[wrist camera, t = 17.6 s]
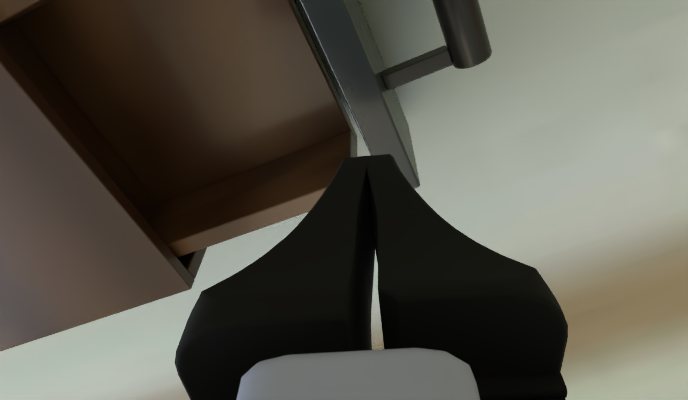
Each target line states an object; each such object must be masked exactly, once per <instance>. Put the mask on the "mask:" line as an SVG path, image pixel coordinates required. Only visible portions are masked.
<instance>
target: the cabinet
mask: <svg viewBox="0 0 688 400" xmlns="http://www.w3.org/2000/svg"><path fill="white" fill-rule="evenodd" d="M206 249H207V247H206V248H203V249H200V250H197V251H194V252H191V253H189V254H186V255H183V256H180V257H176V256H175V255H174V254H173V253H172V251H171V250H170V249H169V248H168V247H167V245H166V244H165V243H164V242H163V240H162V239H161V238H160V237H159V236H158V234H157V233H156V232H155V231H154V230H153V228H152V227H151V226H150V225H149V223H148V222H147V221H146V220H145V219H144V217H143V216H142V215H141V214H140V213H139V211H138V210H137V209H136V208H135V207H134V205H133V204H132V203H131V202H130V200H129V199H128V198H127V197H126V196H125V194H124V193H123V192H122V191H121V190H120V188H119V187H118V186H117V185H116V184H115V182H114V181H113V180H112V179H111V177H110V176H109V175H108V174H107V173H106V171H105V170H104V169H103V168H102V167H101V165H100V164H99V163H98V162H97V160H96V159H95V158H94V157H93V156H92V154H91V153H90V152H89V151H88V150H87V148H86V147H85V146H84V145H83V144H82V142H81V141H80V140H79V139H78V137H77V136H76V135H75V134H74V133H73V131H72V130H71V129H70V128H69V127H68V125H67V124H66V123H65V122H64V120H63V119H62V118H61V117H60V116H59V114H58V113H57V112H56V111H55V110H54V108H53V107H52V106H51V105H50V104H49V102H48V101H47V100H46V99H45V97H44V96H43V95H42V94H41V93H40V91H39V90H38V89H37V88H36V87H35V85H34V84H33V83H32V82H31V81H30V79H29V78H28V77H27V76H26V74H25V73H24V72H23V71H22V70H21V68H20V67H19V66H18V65H17V64H16V62H15V61H14V60H13V59H12V57H11V56H10V55H9V54H8V53H7V51H6V50H5V49H4V48H3V47H2V45H1V44H0V351H3V350H6V349H9V348H12V347H15V346H18V345H21V344H24V343H27V342H30V341H33V340H36V339H39V338H42V337H45V336H48V335H52V334H55V333H58V332H61V331H64V330H67V329H70V328H73V327H76V326H79V325H82V324H85V323H88V322H91V321H94V320H97V319H100V318H103V317H107V316H110V315H113V314H116V313H119V312H122V311H125V310H128V309H131V308H134V307H137V306H140V305H143V304H146V303H149V302H152V301H155V300H158V299H162V298H165V297H168V296H171V295H174V294H177V293H180V292H183V291H186V290H189V289H191V288H192V285H193V282H194V279H195V277H196V275H197V272H198V270H199V267H200V264H201V262H202V259H203V257H204V254H205V251H206Z"/></svg>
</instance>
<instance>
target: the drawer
mask: <svg viewBox="0 0 688 400" xmlns="http://www.w3.org/2000/svg"><path fill="white" fill-rule="evenodd" d="M432 1H433V4H434V7H435V11H436V14H437V17H438V20H439V23H440V26H441V29H442V33H443V36H444V39H445V42H446V45H447V46H446V45H444V46H442V47H439V48H437V49H435V50H432V51H430V52H427V53H425V54H422V55H420V56H418V57H415V58H413V59H410V60H408V61H405V62H403V63H400V64H398V65H396V66H393V67H391V68H388V69H386V68H385V65H384V63H383V60H382V58H381V55H380V53H379V50H378V48H377V45H376V43H375V40H374V38H373V35H372V33H371V30H370V28H369V25H368V23H367V20H366V18H365V15H364V13H363V10H362V8H361V5H360V3H359V0H300V2H301V5H302V7H303V9H304V11H305V13H306V15H307V18H308V20H309V22H310V24H311V26H312V28H313V31H314V33H315V35H316V37H317V39H318V41H319V43H320V46H321V48H322V50H323V52H324V54H325V56H326V59H327V61H328V63H329V65H330V67H331V69H332V72H333V74H334V76H335V78H336V80H337V82H338V85H339V87H340V89H341V91H342V93H343V95H344V97H345V100H346V102H347V104H348V106H349V108H350V110H351V113H352V115H353V117H354V119H355V121H356V123H357V126H358V128H359V130H360V132H361V134H362V136H363V139H364V141H365V143H366V145H367V147H368V149H369V151H370V154H371V156H372V155H383V154H391V155H392V156H393V157H394V159H395V161H396V163H397V165H398V167H399V168H400V170H401V172H402V173H403V175H404V176H405V178H406V179H407V180H408V182H409V183H410V184H411V186H412V187H413V188H417V187H419V186H420V182H419V177H418V172H417V167H416V162H415V157H414V151H413V146H412V141H411V136H410V131H409V126H408V123H407V120H406V118H405V115H404V113H403V110H402V108H401V105H400V103H399V100H398V98H397V95H396V93H395V90H394V88H396V87H398V86H401V85H403V84H406V83H408V82H411V81H413V80H416V79H418V78H421V77H423V76H426V75H428V74H431V73H433V72H436V71H438V70H441V69H443V68H446V67H448V66H451V65H453V66H454V67H455V68H458V69H465V68H470V67H473V66H476V65H478V64H480V63H482V62H484V61H486V60H487V59H488V58H489V57H490V56H491V53H492V50H491V46H490V43H489V39H488V35H487V32H486V28H485V24H484V21H483V17H482V13H481V9H480V6H479V2H478V0H432ZM0 44H1V45H2V47H3V48H4V49H5V50H6V51H7V53H8V54H9V55H10V56H11V57H12V59H13V60H14V61H15V62H16V64H17V65H18V66H19V67H20V68H21V70H22V71H23V72H24V73H25V74H26V76H27V77H28V78H29V79H30V81H31V82H32V83H33V84H34V85H35V87H36V88H37V89H38V90H39V91H40V93H41V94H42V95H43V96H44V97H45V99H46V100H47V101H48V102H49V104H50V105H51V106H52V107H53V108H54V110H55V111H56V112H57V113H58V114H59V116H60V117H61V118H62V119H63V120H64V122H65V123H66V124H67V125H68V127H69V128H70V129H71V130H72V131H73V133H74V134H75V135H76V136H77V137H78V139H79V140H80V141H81V142H82V144H83V145H84V146H85V147H86V148H87V150H88V151H89V152H90V153H91V154H92V156H93V157H94V158H95V159H96V160H97V162H98V163H99V164H100V165H101V167H102V168H103V169H104V170H105V171H106V173H107V174H108V175H109V176H110V177H111V179H112V180H113V181H114V182H115V184H116V185H117V186H118V187H119V188H120V190H121V191H122V192H123V193H124V194H125V196H126V197H127V198H128V199H129V200H130V202H131V203H132V204H133V205H134V207H135V208H136V209H137V210H138V211H139V213H140V214H141V215H142V216H143V217H144V219H145V220H146V221H147V222H148V223H149V225H150V226H151V227H152V228H153V230H154V231H155V232H156V233H157V234H158V236H159V237H160V238H161V239H162V240H163V242H164V243H165V244H166V245H167V247H168V248H169V249H170V250H171V251H172V253H173V254H174V255H175V256H176V257H180V256H183V255H186V254H189V253H191V252H194V251H197V250H200V249H203V248H206V247H209V246H211V245H214V244H217V243H220V242H223V241H226V240H229V239H232V238H234V237H237V236H240V235H243V234H246V233H249V232H252V231H254V230H257V229H260V228H263V227H266V226H269V225H272V224H275V223H277V222H280V221H283V220H286V219H289V218H292V217H295V216H298V215H300V214H303V213H306V212H309V211H310V210H311V209H312V208H313V206H314V205H315V204H316V202H317V201H318V200H319V198H320V197H321V195H322V194H323V192H324V191H325V189H326V188H327V186H328V185H329V183H330V182H331V180H332V178H333V176H334V175H335V173H336V171H337V169H338V167H339V165H340V163H341V161H342V160H343V159H344V158H350V157H357V134H356V132H355V130H354V128H353V126H352V124H351V122H350V119H349V117H348V115H347V113H346V111H345V109H344V107H343V105H342V102H341V100H340V98H339V96H338V94H337V92H336V90H335V87H334V85H333V83H332V81H331V79H330V77H329V75H328V73H327V70H326V68H325V66H324V64H323V62H322V60H321V58H320V55H319V53H318V51H317V49H316V47H315V45H314V43H313V41H312V38H311V36H310V34H309V32H308V30H307V28H306V26H305V24H304V21H303V19H302V17H301V15H300V13H299V11H298V9H297V6H296V4H295V2H294V0H0Z"/></svg>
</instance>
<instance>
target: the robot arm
mask: <svg viewBox="0 0 688 400" xmlns="http://www.w3.org/2000/svg"><path fill="white" fill-rule="evenodd" d="M375 250H376V256H377V262H378V294H379V303H380V313H381V322H382V331H383V341H384V349H382V350H372V344H371V305H372V289H373V274H374V258H375ZM567 338H568V324H567V322H566V320H565V317H564V314H563V312H562V310H561V307H560V305H559V304H558V302H557V300H556V298H555V296H554V295H553V293H552V292H551V290H550V289H549V287H548V286H547V284H546V283H545V281H544V280H543V278H542V277H541V275H540V274H539V273H538V271H537V270H536V269H535V268H533V267H530V266H528V265H525V264H523V263H520V262H518V261H515V260H513V259H510V258H508V257H505V256H503V255H500V254H498V253H496V252H494V251H492V250H490V249H488V248H486V247H484V246H483V245H481V244H479V243H477V242H475V241H474V240H472V239H471V238H469V237H467V236H466V235H464V234H463V233H461V232H460V231H458V230H457V229H455V228H454V227H453V226H451V225H450V224H449V223H448V222H446V221H445V220H444V219H443V218H442V217H440V216H439V215H438V214H437V213H436V212H435V211H434V210H433V209H432V208H431V207H430V206H429V205H428V204H427V203H426V202H425V201H424V200H423V199H422V198H421V196H420V195H419V194H418V193H417V192H416V191H415V189H414V188H413V187H412V186H411V184H410V183H409V182H408V180H407V179H406V178H405V176H404V175H403V173H402V172H401V170H400V168H399V167H398V165H397V163H396V161H395V159H394V157H393V156H392V155H391V154H383V155H372V156H361V157H350V158H344V159H343V160H342V161H341V163H340V165H339V167H338V169H337V171H336V173H335V175H334V176H333V178H332V180H331V182H330V183H329V185H328V186H327V188H326V189H325V191H324V192H323V194H322V195H321V197H320V198H319V200H318V201H317V202H316V204H315V205H314V206H313V208H312V209H311V210H310V211H309V213H308V214H307V215H306V217H305V218H304V219H303V220H302V221H301V222H300V223H299V224H298V226H297V227H296V228H295V229H294V230H293V231H292V232H291V233H290V234H289V235H288V236H287V237H285V238H284V239H283V240H282V241H281V242H279V243H278V244H277V245H276V246H275V247H273V248H272V249H271V250H270V251H269V252H267V253H266V254H265V255H263V256H262V257H261V258H259V259H258V260H256V261H255V262H253V263H252V264H250V265H249V266H247V267H246V268H244V269H243V270H241V271H239V272H238V273H236V274H234V275H232V276H231V277H229V278H227V279H225V280H223V281H221V282H219V283H217V284H216V285H214V286H212V287H210V288H208V289H206V290H204V291H202V292H201V294H200V296H199V299H198V300H197V302H196V304H195V306H194V308H193V310H192V312H191V314H190V316H189V319H188V321H187V324H186V326H185V329H184V332H183V334H182V337H181V340H180V342H179V345H178V348H177V350H176V358H175V365H176V368H177V372H178V375H179V377H180V379H181V381H182V383H183V385H184V387H185V389H186V391H187V393H188V395H189V397H190V399H191V400H565V398H566V396H567V388H566V385H565V383H564V380H563V378H562V375H561V373H560V371H561V367H562V362H563V357H564V352H565V348H566V343H567Z"/></svg>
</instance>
